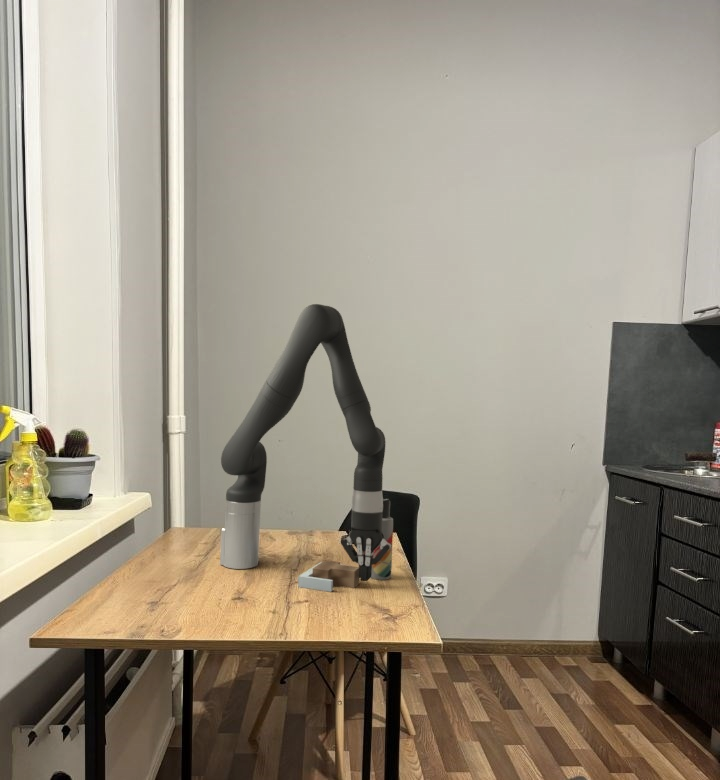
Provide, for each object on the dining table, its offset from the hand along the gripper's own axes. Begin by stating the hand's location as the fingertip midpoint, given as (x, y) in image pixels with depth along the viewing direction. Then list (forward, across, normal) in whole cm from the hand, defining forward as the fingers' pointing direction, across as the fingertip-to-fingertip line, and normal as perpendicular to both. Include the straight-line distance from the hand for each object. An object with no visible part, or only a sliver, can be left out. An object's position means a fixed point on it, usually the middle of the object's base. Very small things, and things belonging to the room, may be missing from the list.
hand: (365, 580), depth 140 cm
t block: (+2, -7, 0) cm, 7 cm away
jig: (+2, -11, 0) cm, 11 cm away
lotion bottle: (+2, +1, +10) cm, 10 cm away
